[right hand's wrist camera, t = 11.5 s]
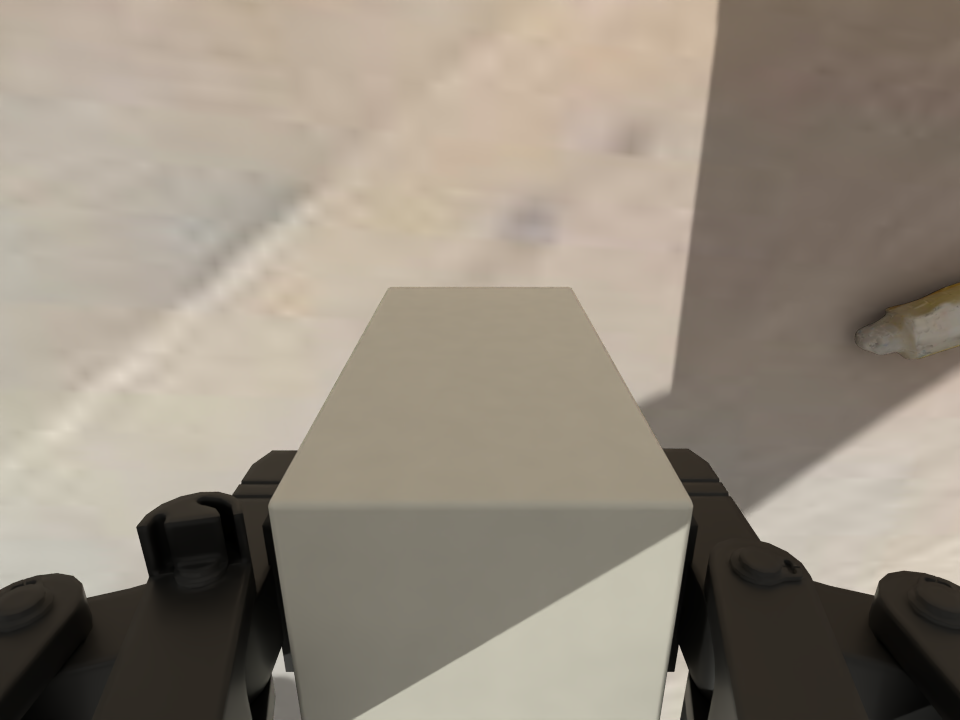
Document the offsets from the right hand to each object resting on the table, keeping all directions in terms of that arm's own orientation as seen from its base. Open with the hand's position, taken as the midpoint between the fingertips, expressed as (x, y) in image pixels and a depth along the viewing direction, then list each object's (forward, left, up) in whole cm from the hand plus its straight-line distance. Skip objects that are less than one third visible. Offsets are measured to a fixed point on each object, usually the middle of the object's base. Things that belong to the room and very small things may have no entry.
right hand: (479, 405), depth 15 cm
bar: (+8, +4, -1) cm, 9 cm away
